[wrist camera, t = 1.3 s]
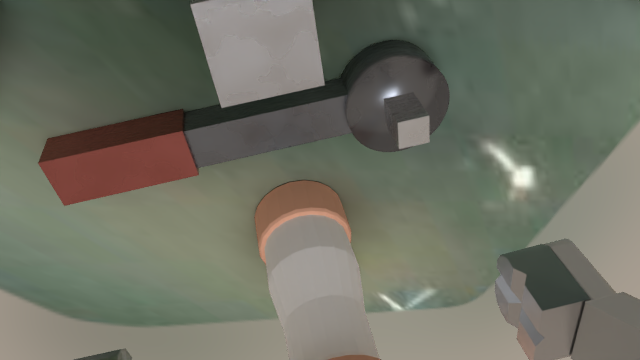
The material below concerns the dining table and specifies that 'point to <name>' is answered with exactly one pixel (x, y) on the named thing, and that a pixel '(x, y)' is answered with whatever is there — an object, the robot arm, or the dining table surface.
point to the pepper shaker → (313, 273)
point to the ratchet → (256, 126)
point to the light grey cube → (259, 47)
